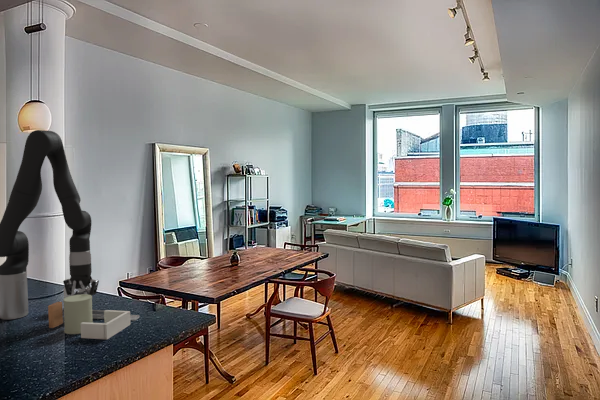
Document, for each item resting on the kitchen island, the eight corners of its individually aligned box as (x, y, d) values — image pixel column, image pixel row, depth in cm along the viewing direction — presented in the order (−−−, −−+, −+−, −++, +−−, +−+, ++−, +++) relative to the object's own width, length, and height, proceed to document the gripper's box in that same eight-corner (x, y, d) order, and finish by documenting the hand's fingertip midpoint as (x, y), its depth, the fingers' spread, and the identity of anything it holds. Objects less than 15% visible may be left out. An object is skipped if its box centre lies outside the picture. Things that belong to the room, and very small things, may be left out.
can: (99, 326, 155) (98, 294, 154) (78, 335, 146) (77, 301, 145) (79, 323, 158) (78, 292, 157) (58, 332, 149) (56, 298, 148)
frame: (81, 337, 144) (80, 323, 144) (106, 323, 158) (106, 310, 158) (107, 339, 142) (106, 324, 142) (130, 324, 157) (130, 311, 156)
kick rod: (48, 327, 151) (47, 305, 150) (81, 312, 168) (80, 292, 168) (79, 329, 149) (78, 307, 149) (109, 313, 167) (108, 293, 166)
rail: (72, 317, 165) (72, 315, 165) (78, 314, 168) (77, 312, 168) (135, 320, 161) (135, 318, 161) (139, 317, 164) (139, 315, 164)
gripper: (56, 264, 162) (58, 308, 163) (91, 264, 160) (92, 309, 161) (70, 260, 169) (71, 302, 170) (103, 260, 167) (104, 303, 168)
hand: (81, 305), depth 166 cm, fingers open, 4 cm apart
